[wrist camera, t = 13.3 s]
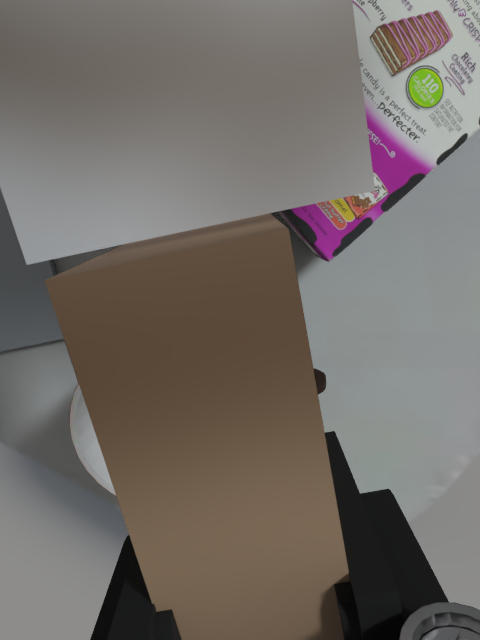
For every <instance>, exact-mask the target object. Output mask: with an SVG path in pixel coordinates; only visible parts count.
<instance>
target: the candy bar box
mask: <svg viewBox="0 0 480 640" xmlns="http://www.w3.org/2000/svg"><path fill="white" fill-rule="evenodd" d="M352 3H353V11H354V20H355V28H356V36H357V44H358V53H359V61H360V69H361V78H362V86H363V94H364V103H365V111H366V119H367V128H368V136H369V144H370V153H371V161H372V169H373V178H374V186H375V191H372V192H367V193H363V194H358V195H353V196H348V197H344V198H339V199H334V200H330V201H325V202H320V203H316V204H311V205H306V206H301V207H297V208H292V209H287V210H283V211H278V213H279V214H280V215H281V217H282V218H283V219H284V220H285V221H286V222H287V223H288V225H289V226H290V227H291V228H292V229H293V230H294V231H295V232H296V234H297V235H298V236H299V237H300V238H301V239H302V240H303V241H304V242H305V244H306V245H307V246H308V247H309V248H310V249H311V250H312V251H313V252H314V254H315V255H316V256H318V257H319V258H321V259H323V260H325V261H328V262H329V261H331V260H332V259H334V258H335V257H336V256H337V255H338V254H339V253H340V252H342V251H343V250H344V249H345V248H346V247H347V246H349V245H350V244H351V243H352V242H353V241H354V240H355V239H357V238H358V237H359V236H360V235H361V234H362V233H363V232H364V231H365V230H366V229H368V228H369V227H370V226H371V225H372V224H373V223H374V222H376V221H377V220H378V219H379V218H380V217H381V216H382V215H383V214H385V213H386V212H387V211H388V210H389V209H390V208H391V207H392V206H394V205H395V204H396V203H397V202H398V201H399V200H400V199H401V198H403V197H404V196H405V195H406V194H407V193H408V192H409V191H410V190H412V189H413V188H414V187H415V186H416V185H417V184H418V183H419V182H420V181H421V180H422V179H423V178H424V177H426V176H427V175H428V174H429V173H431V172H432V171H433V170H434V169H435V168H436V167H437V166H438V165H439V164H440V163H441V162H443V161H444V160H445V159H446V158H447V157H448V156H449V155H450V154H451V153H453V152H454V151H455V150H456V149H457V148H458V147H459V146H460V145H461V144H462V143H464V142H465V141H466V140H467V139H469V138H470V137H471V136H472V135H473V134H474V133H475V132H477V131H478V130H479V129H480V0H352Z"/></svg>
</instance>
